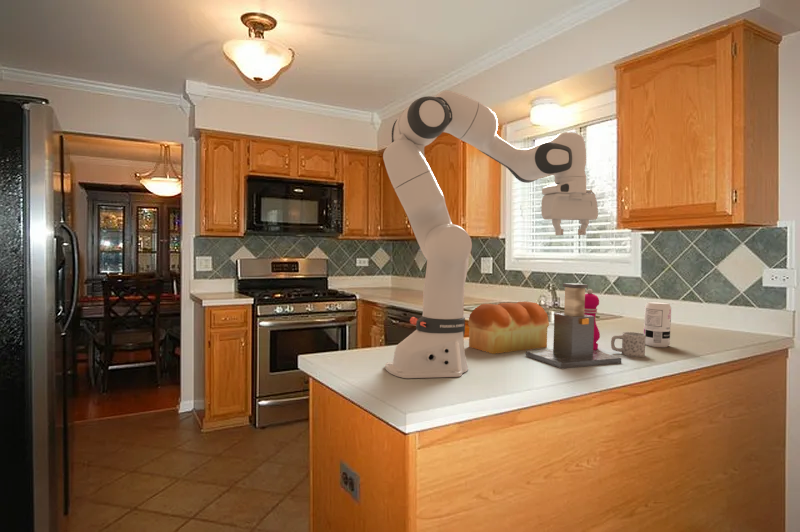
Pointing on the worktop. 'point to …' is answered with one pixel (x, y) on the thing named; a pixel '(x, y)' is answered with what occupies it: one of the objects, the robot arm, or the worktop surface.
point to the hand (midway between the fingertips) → (570, 235)
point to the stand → (573, 344)
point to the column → (574, 299)
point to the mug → (630, 344)
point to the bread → (508, 327)
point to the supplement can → (657, 324)
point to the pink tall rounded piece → (592, 313)
